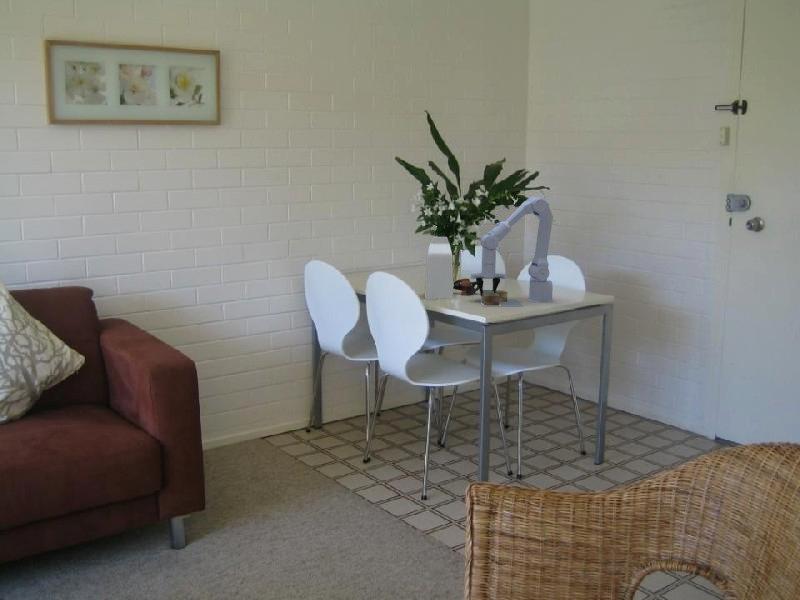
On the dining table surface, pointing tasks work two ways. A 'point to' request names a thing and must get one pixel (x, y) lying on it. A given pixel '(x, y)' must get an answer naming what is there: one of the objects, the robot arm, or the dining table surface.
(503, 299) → the oak block
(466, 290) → the pottery mug
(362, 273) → the dining table surface
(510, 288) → the dining table surface
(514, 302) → the blueprint mat
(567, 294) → the dining table surface
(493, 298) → the walnut base
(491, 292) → the teal block
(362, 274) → the dining table surface
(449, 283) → the milk
